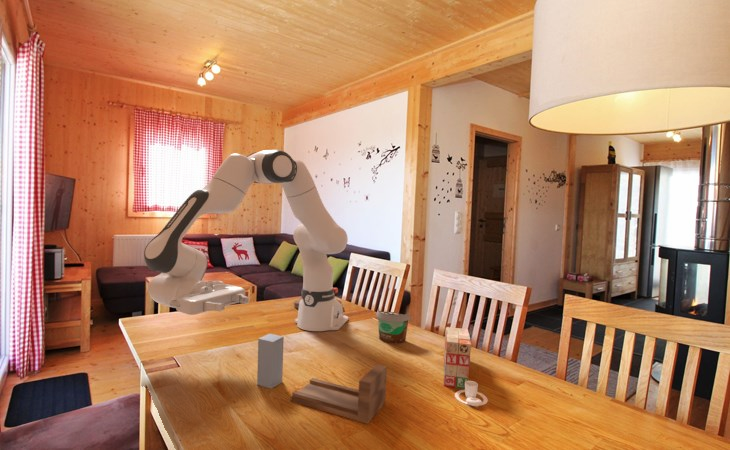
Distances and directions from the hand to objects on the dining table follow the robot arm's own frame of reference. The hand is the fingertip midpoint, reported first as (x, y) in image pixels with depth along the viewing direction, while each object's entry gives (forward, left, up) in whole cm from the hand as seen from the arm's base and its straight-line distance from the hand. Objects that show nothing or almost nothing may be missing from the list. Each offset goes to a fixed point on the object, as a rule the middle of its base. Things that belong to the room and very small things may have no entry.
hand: (235, 304), depth 106 cm
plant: (-68, -14, -19) cm, 72 cm away
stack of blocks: (-32, +53, -19) cm, 65 cm away
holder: (0, +32, -19) cm, 37 cm away
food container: (-45, +28, -19) cm, 56 cm away
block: (0, +12, -19) cm, 22 cm away
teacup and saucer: (-16, +58, -20) cm, 63 cm away
